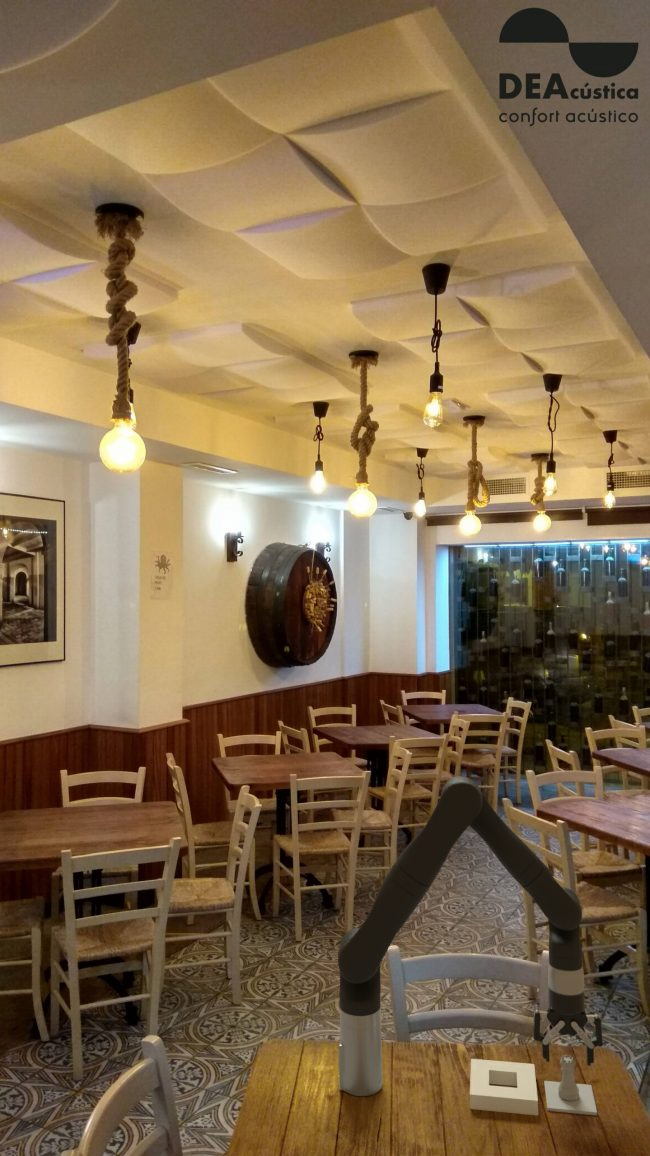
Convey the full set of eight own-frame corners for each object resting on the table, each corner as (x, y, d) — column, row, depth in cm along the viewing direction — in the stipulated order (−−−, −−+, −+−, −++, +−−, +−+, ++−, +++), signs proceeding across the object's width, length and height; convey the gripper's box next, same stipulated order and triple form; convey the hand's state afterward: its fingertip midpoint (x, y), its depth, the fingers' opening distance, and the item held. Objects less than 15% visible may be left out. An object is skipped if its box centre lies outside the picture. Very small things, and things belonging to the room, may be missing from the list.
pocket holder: (470, 1108, 173) (469, 1094, 173) (471, 1072, 187) (471, 1058, 187) (538, 1115, 171) (537, 1100, 171) (534, 1077, 184) (534, 1064, 184)
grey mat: (547, 1110, 172) (547, 1107, 172) (544, 1083, 182) (544, 1080, 182) (597, 1115, 170) (597, 1112, 170) (591, 1087, 180) (591, 1084, 180)
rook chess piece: (580, 1103, 174) (579, 1064, 174) (558, 1101, 174) (557, 1062, 175) (578, 1091, 178) (577, 1053, 178) (557, 1089, 179) (556, 1051, 179)
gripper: (533, 990, 175) (535, 1068, 174) (602, 996, 172) (605, 1075, 171) (531, 975, 182) (533, 1049, 181) (598, 980, 179) (600, 1055, 179)
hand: (568, 1062), depth 176 cm, fingers open, 8 cm apart
